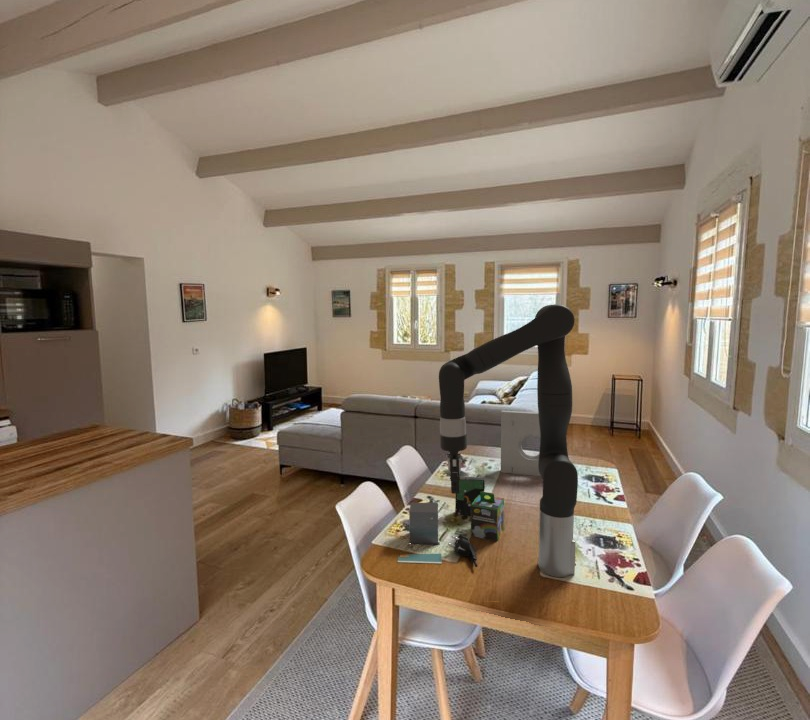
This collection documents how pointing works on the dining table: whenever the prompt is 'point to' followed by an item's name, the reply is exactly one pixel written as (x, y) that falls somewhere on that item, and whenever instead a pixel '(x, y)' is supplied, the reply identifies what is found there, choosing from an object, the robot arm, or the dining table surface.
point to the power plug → (464, 548)
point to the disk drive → (468, 494)
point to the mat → (421, 558)
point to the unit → (423, 523)
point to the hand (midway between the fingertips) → (454, 487)
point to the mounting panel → (518, 442)
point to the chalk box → (487, 516)
